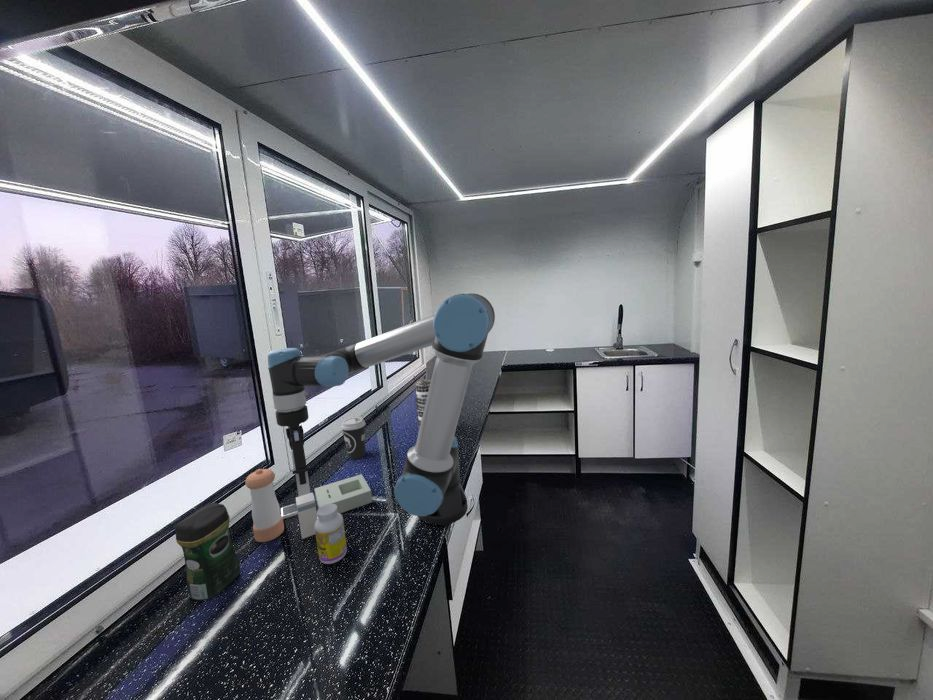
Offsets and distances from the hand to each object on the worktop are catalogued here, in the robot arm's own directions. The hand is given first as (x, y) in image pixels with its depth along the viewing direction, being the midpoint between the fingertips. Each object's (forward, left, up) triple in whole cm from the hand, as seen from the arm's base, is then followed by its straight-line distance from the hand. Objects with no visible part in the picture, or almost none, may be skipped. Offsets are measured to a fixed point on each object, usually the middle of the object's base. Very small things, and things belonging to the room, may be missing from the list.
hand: (301, 482), depth 95 cm
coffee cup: (+39, -22, -15) cm, 48 cm away
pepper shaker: (+6, +10, -15) cm, 19 cm away
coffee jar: (-8, +21, -15) cm, 27 cm away
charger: (0, 0, -15) cm, 15 cm away
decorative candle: (+42, -55, -15) cm, 71 cm away
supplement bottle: (-14, -4, -15) cm, 21 cm away
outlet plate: (+9, -11, -15) cm, 21 cm away
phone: (+13, +2, -15) cm, 20 cm away
